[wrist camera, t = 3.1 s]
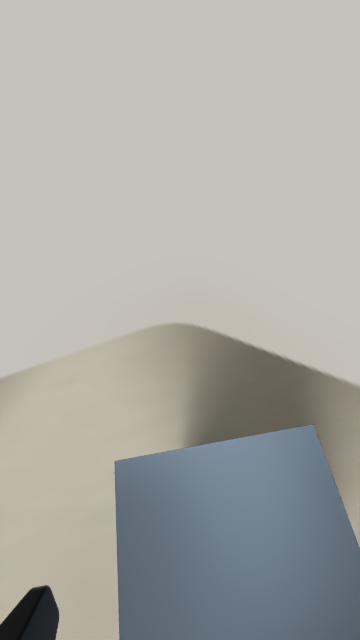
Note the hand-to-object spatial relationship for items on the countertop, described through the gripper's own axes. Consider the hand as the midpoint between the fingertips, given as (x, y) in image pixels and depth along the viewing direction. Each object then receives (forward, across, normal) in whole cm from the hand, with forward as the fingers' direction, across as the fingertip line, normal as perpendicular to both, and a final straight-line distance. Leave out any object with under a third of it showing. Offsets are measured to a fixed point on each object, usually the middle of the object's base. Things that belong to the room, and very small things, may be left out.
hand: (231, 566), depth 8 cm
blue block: (+5, 0, +5) cm, 8 cm away
